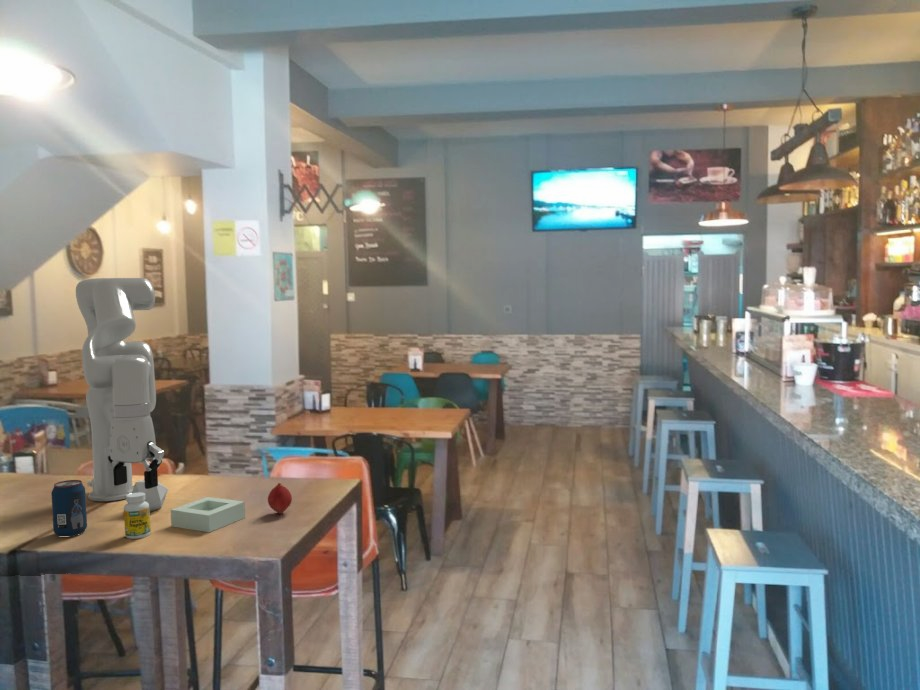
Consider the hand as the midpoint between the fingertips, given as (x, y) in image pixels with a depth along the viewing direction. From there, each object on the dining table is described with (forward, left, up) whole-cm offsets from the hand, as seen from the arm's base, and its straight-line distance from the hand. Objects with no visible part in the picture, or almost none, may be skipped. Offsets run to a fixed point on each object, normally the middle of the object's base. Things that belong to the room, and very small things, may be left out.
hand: (135, 485), depth 166 cm
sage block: (+7, +14, -12) cm, 20 cm away
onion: (+19, +26, -12) cm, 35 cm away
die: (-15, +16, -12) cm, 25 cm away
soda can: (-17, -5, -12) cm, 21 cm away
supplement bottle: (-1, 0, -12) cm, 12 cm away
